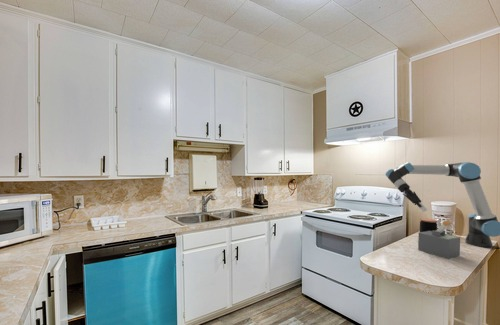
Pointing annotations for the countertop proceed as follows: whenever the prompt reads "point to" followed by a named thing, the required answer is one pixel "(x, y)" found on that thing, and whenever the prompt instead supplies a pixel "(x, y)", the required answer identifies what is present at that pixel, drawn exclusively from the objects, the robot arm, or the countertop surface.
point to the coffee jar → (428, 224)
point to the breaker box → (439, 244)
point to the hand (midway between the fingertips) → (425, 210)
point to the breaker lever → (443, 226)
